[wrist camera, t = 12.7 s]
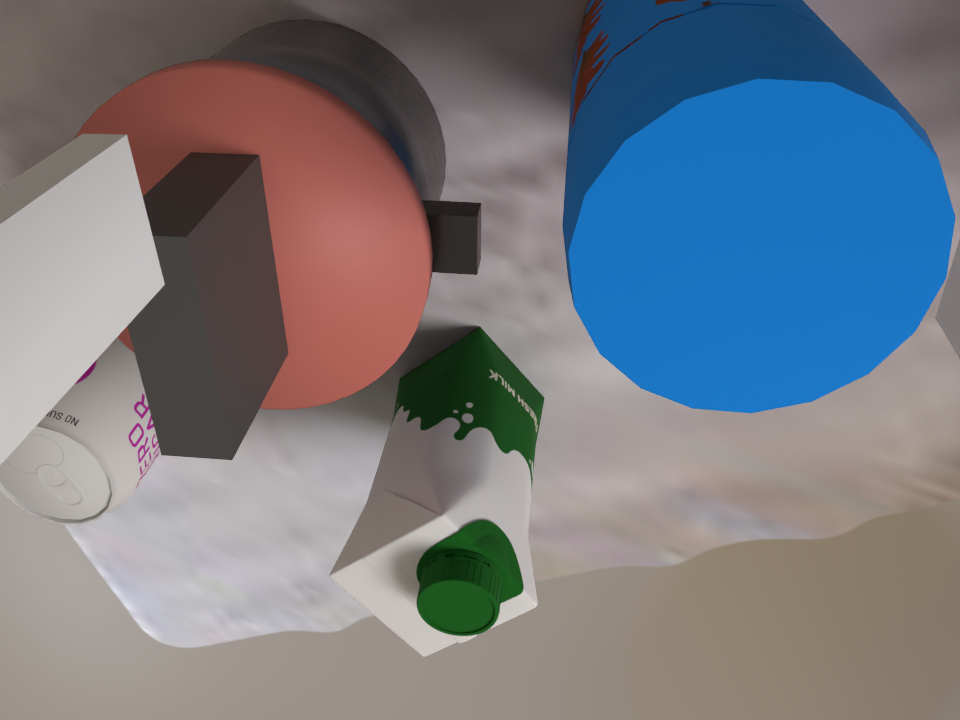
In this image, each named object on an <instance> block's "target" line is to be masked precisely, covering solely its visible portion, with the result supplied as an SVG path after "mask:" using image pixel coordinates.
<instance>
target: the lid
mask: <svg viewBox="0 0 960 720" xmlns="http://www.w3.org/2000/svg"><path fill="white" fill-rule="evenodd" d="M82 134H121V135H127V137H128V141H129V145H130V149H131V153H132V157H133V161H134V165H135V169H136V173H137V177H138V181H139V185H140V189H141V192H142V196H143V200H144V204H145V208H146V212H147V216H148V220H149V224H150V228H151V232H152V236H153V240H154V244H155V248H156V252H157V255H158V259H159V263H160V267H161V271H162V275H163V279H164V283H165V285H164V286H163V287H162V288H161V289H160V290H159V292H158V293H157V294H156V295H155V296H154V297H153V298H152V299H151V300H150V301H149V303H148V304H147V305H146V306H145V307H144V308H143V309H142V310H141V311H140V312H139V314H138V315H137V316H136V317H135V318H134V319H133V320H132V321H131V322H130V323H129V325H128V326H127V327H126V328H125V329H124V330H123V331H122V332H121V333H120V334H119V336H118V337H117V338H118V339H119V340H120V341H121V342H122V343H123V344H124V345H125V346H126V347H128V348H129V349H130V350H131V351H132V352H134V353H135V356H136V360H137V364H138V368H139V372H140V375H141V379H142V383H143V387H144V390H145V394H146V398H147V402H148V406H149V409H150V413H151V417H152V421H153V424H154V428H155V432H156V436H157V440H158V443H159V447H160V451H161V455H169V456H183V457H197V458H211V459H225V460H232V459H233V457H234V456H235V454H236V452H237V450H238V448H239V446H240V444H241V442H242V440H243V439H244V437H245V435H246V433H247V431H248V429H249V427H250V425H251V423H252V421H253V420H254V418H255V416H256V414H257V412H258V410H259V408H263V409H298V408H307V407H313V406H318V405H322V404H327V403H331V402H333V401H336V400H339V399H342V398H345V397H347V396H350V395H351V394H353V393H355V392H357V391H359V390H361V389H363V388H365V387H367V386H368V385H369V384H371V383H372V382H374V381H375V380H376V379H378V378H379V377H381V376H382V375H383V374H384V373H385V372H386V371H387V370H388V369H389V368H390V367H391V366H392V365H393V364H394V363H395V362H396V361H397V360H398V358H399V357H400V356H401V354H402V353H403V352H404V350H405V349H406V348H407V346H408V344H409V343H410V341H411V339H412V337H413V335H414V333H415V332H416V330H417V327H418V324H419V321H420V318H421V315H422V313H423V310H424V306H425V303H426V300H427V297H428V293H429V288H430V283H431V277H432V261H433V251H432V241H431V232H430V228H429V224H428V219H427V215H426V211H425V208H424V205H423V203H422V200H421V198H420V195H419V193H418V190H417V188H416V185H415V184H414V182H413V180H412V178H411V176H410V174H409V173H408V171H407V169H406V167H405V165H404V164H403V162H402V161H401V160H400V158H399V157H398V155H397V154H396V153H395V151H394V150H393V148H392V147H391V146H390V144H389V143H388V142H387V141H386V140H385V139H384V137H383V136H382V135H381V134H380V133H379V132H378V131H377V130H376V129H375V128H374V127H373V126H372V124H371V123H370V122H368V121H367V120H366V119H365V118H364V117H363V116H361V115H360V114H359V113H358V112H357V111H356V110H354V109H353V108H352V107H351V106H350V105H348V104H347V103H345V102H344V101H342V100H341V99H339V98H338V97H336V96H335V95H333V94H332V93H330V92H329V91H327V90H326V89H324V88H322V87H320V86H318V85H316V84H314V83H312V82H310V81H308V80H306V79H304V78H302V77H300V76H297V75H294V74H291V73H289V72H286V71H283V70H281V69H278V68H274V67H270V66H266V65H261V64H257V63H253V62H246V61H236V60H226V59H219V60H197V61H192V62H187V63H182V64H176V65H172V66H170V67H167V68H164V69H161V70H158V71H155V72H153V73H150V74H149V75H147V76H145V77H143V78H141V79H140V80H138V81H136V82H134V83H132V84H131V85H129V86H128V87H126V88H125V89H123V90H122V91H120V92H119V93H117V94H115V95H114V96H113V97H112V98H110V99H109V100H108V101H107V102H105V103H104V104H103V105H102V106H100V107H99V108H98V109H97V110H96V111H95V112H94V113H93V115H92V116H91V117H90V118H89V119H88V120H87V121H86V123H85V124H84V125H83V126H82V128H81V130H80V131H79V133H78V134H77V136H76V138H77V137H78V136H80V135H82Z"/></svg>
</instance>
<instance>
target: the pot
mask: <svg viewBox="0 0 960 720" xmlns="http://www.w3.org/2000/svg"><path fill="white" fill-rule="evenodd" d="M219 59H226V60H236V61H246V62H253V63H257V64H261V65H266V66H270V67H274V68H278V69H281V70H283V71H286V72H289V73H291V74H294V75H297V76H300V77H302V78H304V79H306V80H308V81H310V82H312V83H314V84H316V85H318V86H320V87H322V88H324V89H326V90H327V91H329V92H330V93H332V94H333V95H335V96H336V97H338V98H339V99H341V100H342V101H344V102H345V103H347V104H348V105H350V106H351V107H352V108H353V109H354V110H356V111H357V112H358V113H359V114H360V115H361V116H363V117H364V118H365V119H366V120H367V121H368V122H370V123H371V124H372V126H373V127H374V128H375V129H376V130H377V131H378V132H379V133H380V134H381V135H382V136H383V137H384V139H385V140H386V141H387V142H388V143H389V144H390V146H391V147H392V148H393V150H394V151H395V153H396V154H397V155H398V157H399V158H400V160H401V161H402V162H403V164H404V165H405V167H406V169H407V171H408V173H409V174H410V176H411V178H412V180H413V182H414V184H415V185H416V188H417V190H418V193H419V195H420V198H421V200H422V203H423V205H424V208H425V211H426V215H427V219H428V224H429V228H430V232H431V241H432V251H433V261H432V272H439V273H457V274H474V275H477V273H478V269H479V264H480V260H481V203H470V202H451V201H439V199H440V196H441V194H442V190H443V185H444V179H445V168H446V155H445V144H444V139H443V134H442V130H441V126H440V123H439V120H438V118H437V115H436V112H435V110H434V108H433V106H432V104H431V102H430V100H429V98H428V96H427V94H426V92H425V91H424V89H423V88H422V86H421V85H420V83H419V82H418V80H417V79H416V78H415V77H414V76H413V74H412V73H411V72H410V71H409V70H408V69H407V67H406V66H405V65H404V64H403V63H402V62H401V61H399V60H398V59H397V58H396V57H395V56H394V55H393V54H392V53H391V52H389V51H388V50H386V49H385V48H384V47H382V46H381V45H379V44H378V43H377V42H375V41H373V40H371V39H370V38H368V37H366V36H364V35H362V34H360V33H358V32H356V31H353V30H351V29H348V28H345V27H343V26H340V25H335V24H331V23H327V22H323V21H313V20H287V21H281V22H276V23H270V24H268V25H265V26H262V27H259V28H256V29H254V30H252V31H250V32H248V33H246V34H244V35H242V36H240V37H239V38H238V39H236V40H235V41H233V42H232V43H231V44H229V45H228V46H227V47H225V48H224V49H222V50H221V51H220V52H218V53H217V54H216V55H214V56H213V57H211V58H210V59H209V60H219Z"/></svg>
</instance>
